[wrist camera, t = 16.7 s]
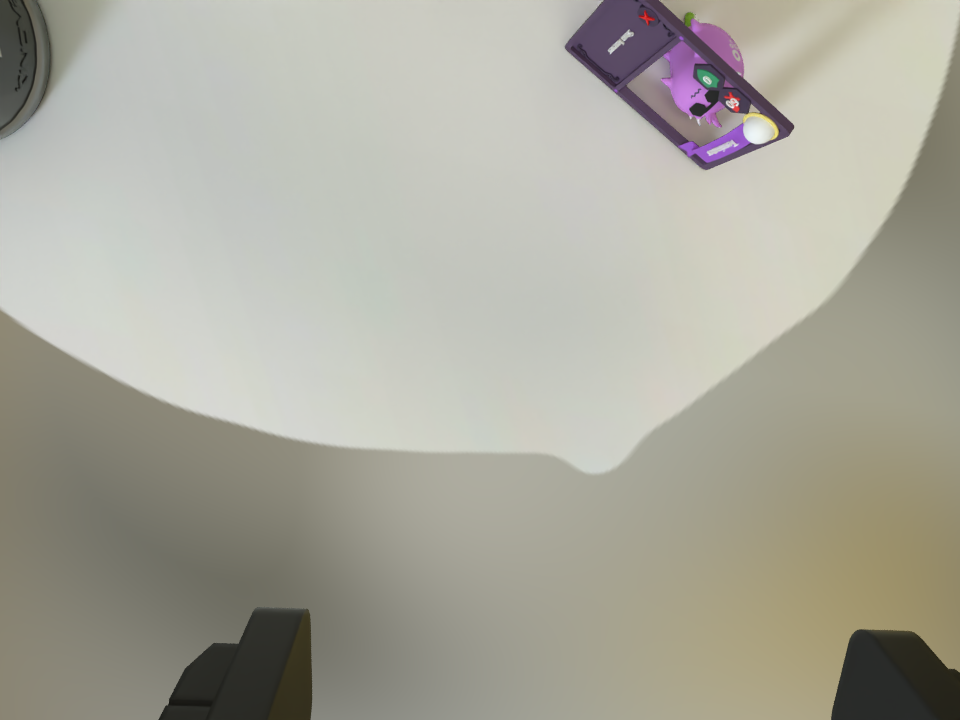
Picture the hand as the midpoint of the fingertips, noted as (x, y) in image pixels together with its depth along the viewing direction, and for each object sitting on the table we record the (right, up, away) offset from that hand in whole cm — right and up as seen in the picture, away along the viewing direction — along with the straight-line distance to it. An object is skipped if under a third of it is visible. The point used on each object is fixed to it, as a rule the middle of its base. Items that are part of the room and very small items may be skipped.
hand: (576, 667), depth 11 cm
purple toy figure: (+7, +18, +24) cm, 31 cm away
